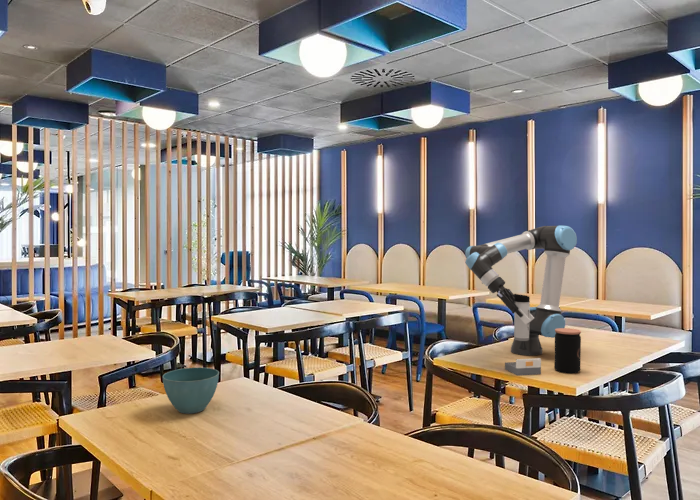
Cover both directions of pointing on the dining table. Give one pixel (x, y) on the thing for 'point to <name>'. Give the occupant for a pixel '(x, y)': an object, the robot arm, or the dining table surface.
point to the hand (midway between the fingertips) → (530, 321)
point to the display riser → (524, 366)
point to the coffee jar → (567, 350)
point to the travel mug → (519, 326)
